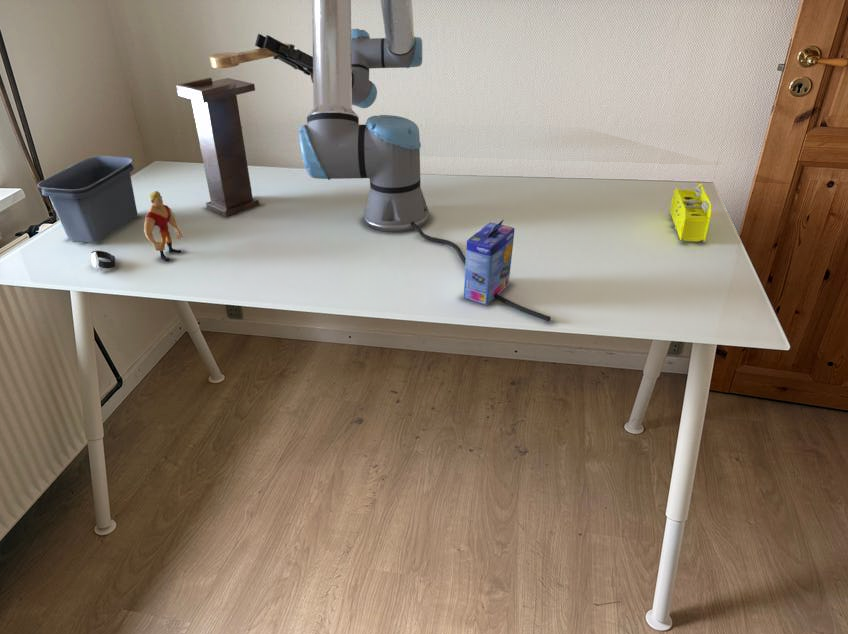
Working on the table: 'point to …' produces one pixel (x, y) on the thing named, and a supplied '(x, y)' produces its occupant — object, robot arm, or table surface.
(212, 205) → the pedestal lectern
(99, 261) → the watch
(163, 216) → the action figure
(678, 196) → the yellow toy chassis
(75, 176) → the storage bin
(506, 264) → the ink cartridge box
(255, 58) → the wooden spoon
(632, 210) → the table surface
